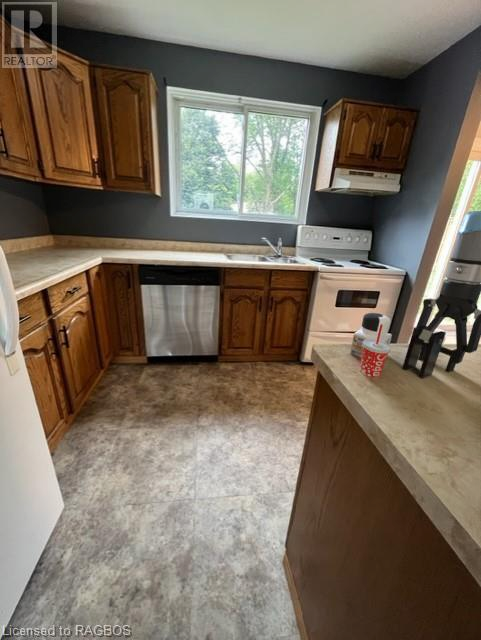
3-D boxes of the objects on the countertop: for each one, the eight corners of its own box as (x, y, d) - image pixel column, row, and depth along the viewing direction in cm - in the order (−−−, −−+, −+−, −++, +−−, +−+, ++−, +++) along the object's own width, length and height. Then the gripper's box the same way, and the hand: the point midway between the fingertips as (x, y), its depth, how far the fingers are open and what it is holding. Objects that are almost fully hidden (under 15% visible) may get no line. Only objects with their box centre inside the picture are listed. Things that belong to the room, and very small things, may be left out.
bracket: (411, 363, 75) (424, 320, 70) (447, 380, 68) (464, 333, 63) (384, 373, 69) (396, 327, 65) (420, 392, 62) (436, 341, 57)
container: (348, 358, 76) (357, 314, 72) (358, 349, 82) (367, 308, 77) (377, 368, 71) (388, 322, 67) (386, 359, 77) (397, 315, 72)
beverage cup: (359, 382, 65) (372, 328, 60) (352, 369, 70) (363, 319, 65) (386, 385, 64) (401, 330, 59) (377, 371, 70) (389, 321, 65)
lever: (426, 349, 73) (431, 341, 73) (451, 359, 68) (456, 350, 68) (410, 334, 66) (415, 326, 66) (436, 344, 61) (442, 335, 61)
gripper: (413, 274, 70) (392, 353, 78) (508, 292, 55) (469, 389, 63) (429, 272, 74) (407, 349, 82) (522, 289, 58) (484, 381, 66)
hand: (434, 366), depth 72 cm, fingers closed on lever, 6 cm apart
